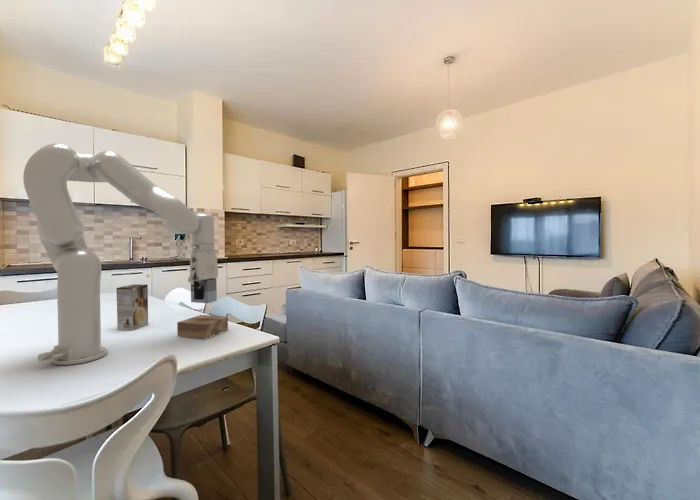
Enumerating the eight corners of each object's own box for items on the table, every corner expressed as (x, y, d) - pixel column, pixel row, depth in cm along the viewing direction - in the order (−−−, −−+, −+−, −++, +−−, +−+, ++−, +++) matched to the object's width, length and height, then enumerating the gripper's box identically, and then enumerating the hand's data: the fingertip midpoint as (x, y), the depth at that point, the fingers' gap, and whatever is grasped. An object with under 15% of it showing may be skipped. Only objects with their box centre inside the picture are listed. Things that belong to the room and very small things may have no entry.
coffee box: (133, 324, 134) (132, 284, 133) (148, 324, 133) (148, 284, 133) (116, 330, 124) (115, 287, 124) (133, 330, 124) (132, 287, 124)
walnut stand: (206, 339, 115) (206, 324, 115) (177, 336, 118) (177, 322, 118) (227, 330, 126) (227, 317, 126) (200, 327, 129) (200, 314, 129)
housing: (207, 303, 118) (207, 280, 118) (191, 302, 120) (190, 280, 120) (216, 300, 123) (216, 279, 123) (200, 299, 125) (200, 278, 125)
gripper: (195, 249, 112) (196, 303, 113) (226, 247, 128) (227, 294, 129) (176, 248, 114) (177, 301, 114) (209, 247, 130) (210, 293, 131)
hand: (204, 297), depth 122 cm, fingers closed on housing, 5 cm apart
